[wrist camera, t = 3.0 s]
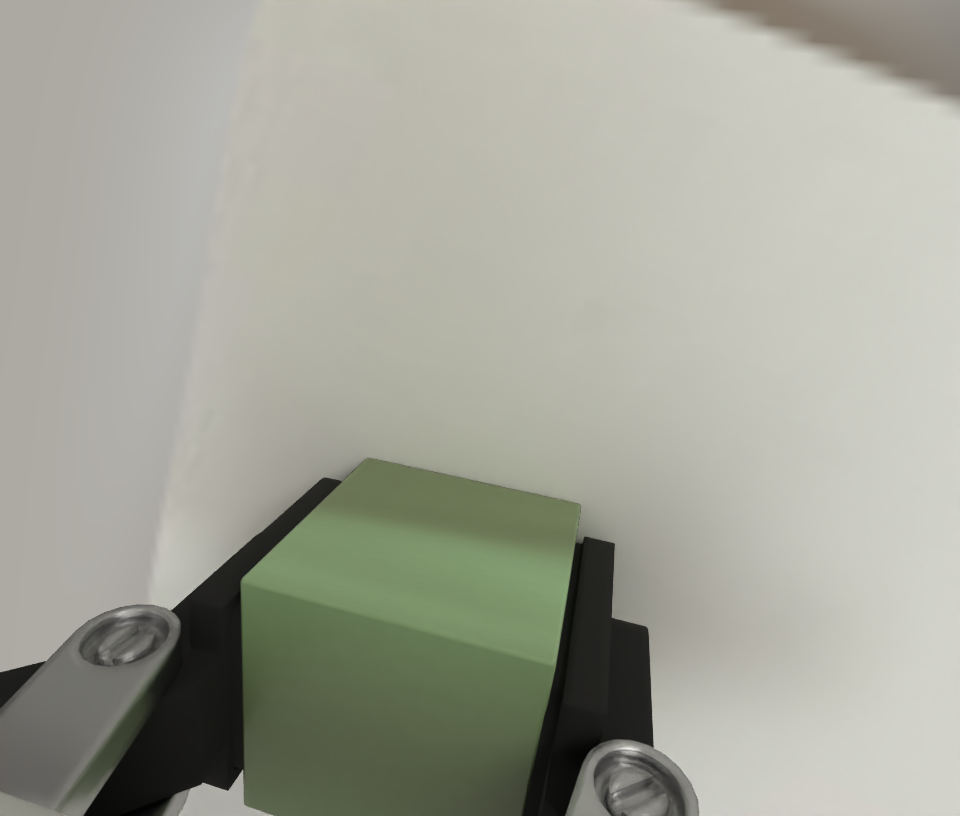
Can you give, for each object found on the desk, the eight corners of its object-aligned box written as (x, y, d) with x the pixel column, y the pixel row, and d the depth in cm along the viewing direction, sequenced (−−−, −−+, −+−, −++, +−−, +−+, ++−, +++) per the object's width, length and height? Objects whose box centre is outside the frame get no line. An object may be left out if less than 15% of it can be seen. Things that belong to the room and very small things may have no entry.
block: (366, 456, 11) (238, 578, 8) (581, 503, 11) (556, 664, 7) (355, 630, 13) (242, 806, 9) (545, 682, 12) (508, 897, 8)
